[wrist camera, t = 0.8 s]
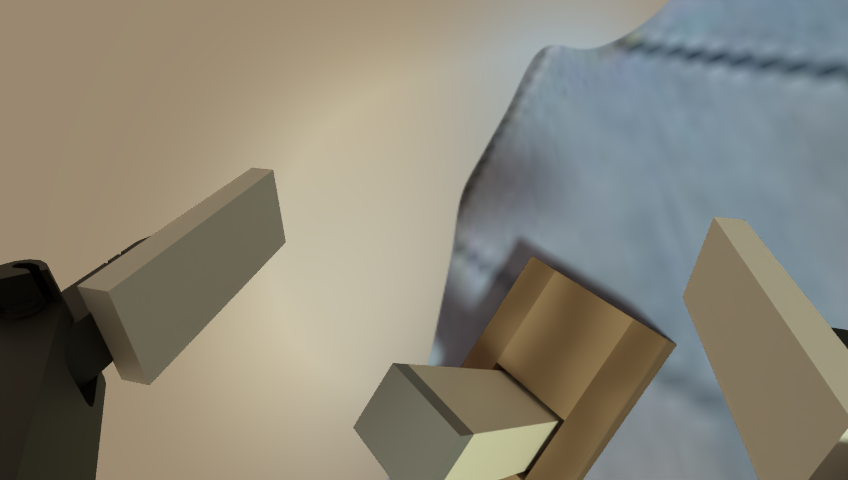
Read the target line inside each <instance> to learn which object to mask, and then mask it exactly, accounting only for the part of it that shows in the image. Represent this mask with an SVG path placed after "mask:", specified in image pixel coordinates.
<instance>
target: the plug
mask: <svg viewBox="0 0 848 480" xmlns="http://www.w3.org/2000/svg"><path fill="white" fill-rule="evenodd" d="M563 422H564V420H563V419H562V418H561V417H560V416H558V415H557V414H556V413H555V412H554V411H553V410H551V409H550V408H549V407H548V406H547V405H546V404H545V403H543V402H542V401H541V400H540V399H539V398H538V397H536V396H535V395H534V394H533V393H532V392H531V391H529V390H528V389H527V388H526V387H525V386H524V385H523V384H521V383H520V382H519V381H518V380H517V379H516V378H514V377H513V376H512V375H511V374H510V373H509V372H508V371H500V370H485V369H471V368H456V367H442V366H427V365H411V364H397V363H393V364H392V365H391V367H390V369H389V370H388V372H387V373H386V375H385V377H384V378H383V380H382V382H381V383H380V385H379V386H378V388H377V390H376V391H375V393H374V395H373V396H372V398H371V399H370V401H369V403H368V404H367V406H366V407H365V409H364V411H363V412H362V414H361V416H360V417H359V419H358V421H357V422H356V424H355V426H354V427H353V428H354V429H355V430H356V432H357V433H358V435H359V436H360V437H361V439H362V440H363V441H364V443H365V444H366V445H367V447H368V448H369V449H370V451H371V452H372V454H373V455H374V456H375V458H376V459H377V460H378V462H379V463H380V464H381V466H382V467H383V468H384V470H385V471H386V473H387V474H388V476H389V477H390V478H391V480H500V479H503V478H506V477H509V476H511V475H514V474H517V473H520V472H523V471H526V470H529V469H532V468H533V467H534V465H535V464H536V462H537V461H538V459H539V458H540V456H541V455H542V453H543V452H544V450H545V449H546V447H547V446H548V444H549V443H550V442H551V440H552V439H553V437H554V436H555V434H556V433H557V431H558V430H559V428H560V427H561V425H562V424H563Z"/></svg>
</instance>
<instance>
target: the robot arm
mask: <svg viewBox="0 0 848 480" xmlns="http://www.w3.org/2000/svg"><path fill="white" fill-rule="evenodd" d="M285 242H286V241H285V236H284V230H283V224H282V219H281V213H280V207H279V201H278V195H277V189H276V184H275V178H274V172H273V170H268V169H258V168H251V169H249V170H248V171H246V172H245V173H244V174H242V175H241V176H239V177H238V178H236V179H235V180H233V181H232V182H231V183H229V184H227V185H226V186H224V187H223V188H221V189H220V190H218V191H217V192H216V193H214V194H212V195H211V196H210V197H208V198H207V199H205V200H204V201H202V202H201V203H199V204H198V205H196V206H195V207H193V208H192V209H190V210H189V211H187V212H186V213H184V214H183V215H181V216H180V217H178V218H177V219H175V220H174V221H172V222H171V223H170V224H168V225H167V226H165V227H164V228H162V229H161V230H159V231H158V232H156V233H155V234H153V235H152V236H149V237H147V238H144V239H142V240H140V241H138V242H136V243H134V244H133V245H131V246H130V247H128V248H127V249H125V250H124V251H122V252H121V254H120V255H119V254H118V255H116V256H115V257H113V258H112V259H110V260H109V261H108V263H104V264H103V265H101V266H100V267H98V268H97V269H95V270H94V271H92V272H91V273H89V274H88V275H86V276H85V277H83V278H82V279H80V280H79V281H77V282H76V283H74V284H73V285H71V286H70V287H68V288H67V289H65V290H64V291H62V292H61V291H60V289H59V287H58V285H57V283H56V281H55V279H54V277H53V275H52V273H51V271H50V269H49V267H48V265H47V264H46V263H44V262H42V261H41V260H31V259H28V260H20V261H14V262H10V263H6V264H3V265H0V480H95V478H96V468H97V460H98V451H99V442H100V433H101V423H102V415H103V405H104V396H105V387H106V382H105V378H104V376H103V374H102V372H101V371H102V370H104V369H105V368H106V367H107V366H108V365H109V364H110V363H111V362H112V361H113V362H114V364H115V366H116V368H117V371H118V373H119V375H120V376H121V379H123V380H128V381H132V382H137V383H141V384H146V385H150V384H151V383H152V382H153V381H154V380H155V379H156V378H157V377H158V376H159V374H160V373H161V372H162V371H163V370H164V369H165V368H166V367H167V366H168V365H169V364H170V363H171V362H172V361H173V360H174V359H175V358H176V357H177V356H178V355H179V354H180V353H181V351H182V350H183V349H184V348H185V347H186V346H187V345H188V344H189V343H190V342H191V341H192V340H193V339H194V338H195V337H196V336H197V335H198V334H199V333H200V331H202V329H203V328H204V327H205V326H206V325H207V324H208V323H209V322H210V321H211V320H212V319H213V318H214V317H215V316H216V315H217V314H218V313H219V312H220V311H221V310H222V308H223V307H224V306H225V305H226V304H227V303H228V302H229V301H230V300H231V299H232V298H233V297H234V296H235V295H236V294H237V293H238V292H239V290H241V289H242V288H243V286H244V285H245V284H246V283H247V282H248V281H249V280H250V279H251V278H252V277H253V276H254V275H255V274H256V273H257V272H258V271H259V270H260V269H261V268H262V266H263V265H264V264H265V263H266V262H267V261H268V260H269V259H270V258H271V257H272V256H273V255H274V254H275V253H276V252H277V251H278V250H279V249H280V247H281V246H283V244H284V243H285ZM683 299H684V302H685V304H686V306H687V309H688V311H689V314H690V316H691V318H692V321H693V323H694V326H695V328H696V330H697V333H698V335H699V338H700V340H701V342H702V345H703V347H704V350H705V352H706V354H707V357H708V359H709V361H710V364H711V366H712V369H713V371H714V373H715V376H716V378H717V381H718V383H719V385H720V388H721V390H722V393H723V395H724V397H725V400H726V402H727V405H728V407H729V409H730V412H731V414H732V416H733V419H734V421H735V424H736V426H737V428H738V431H739V433H740V436H741V438H742V440H743V443H744V445H745V448H746V450H747V452H748V455H749V457H750V460H751V462H752V464H753V467H754V469H755V471H756V474H757V476H758V479H759V480H848V330H844V329H837V328H831V327H830V326H829V325H828V324H827V322H826V321H825V320H824V319H823V317H822V316H821V315H820V314H819V312H818V311H817V310H816V309H815V307H814V306H813V305H812V304H811V302H810V301H809V300H808V299H807V297H806V296H805V295H804V294H803V292H802V291H801V290H800V289H799V287H798V286H797V285H796V284H795V282H794V281H793V280H792V278H791V277H790V276H789V275H788V273H787V272H786V271H785V270H784V268H783V267H782V266H781V265H780V263H779V262H778V261H777V260H776V258H775V257H774V256H773V255H772V253H771V252H770V251H769V250H768V248H767V247H766V246H765V245H764V243H763V242H762V241H761V240H760V238H759V237H758V236H757V235H756V233H755V232H754V231H753V229H752V228H751V227H750V226H749V224H748V223H747V222H746V221H745V220H739V219H730V218H720V217H714V218H713V220H712V223H711V225H710V228H709V230H708V233H707V236H706V238H705V241H704V243H703V246H702V248H701V251H700V254H699V256H698V259H697V261H696V264H695V266H694V269H693V272H692V274H691V277H690V279H689V282H688V284H687V287H686V290H685V292H684V295H683Z"/></svg>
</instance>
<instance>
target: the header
mask: <svg viewBox="0 0 848 480" xmlns="http://www.w3.org/2000/svg"><path fill="white" fill-rule="evenodd" d="M675 346H676V344H675V343H673V342H672V341H670V340H668V339H667V338H665V337H663V336H662V335H660V334H659V333H657V332H655V331H654V330H652V329H651V328H649V327H647V326H646V325H644V324H642V323H641V322H639V321H638V320H636V319H634V318H633V317H631V316H630V315H628V314H626V313H625V312H623V311H621V310H620V309H618V308H617V307H615V306H613V305H612V304H610V303H609V302H607V301H605V300H604V299H602V298H600V297H599V296H597V295H596V294H594V293H592V292H591V291H589V290H588V289H586V288H584V287H583V286H581V285H579V284H578V283H576V282H575V281H573V280H571V279H570V278H568V277H567V276H565V275H563V274H562V273H560V272H558V271H557V270H555V269H554V268H552V267H550V266H549V265H547V264H545V263H543V262H542V261H540V260H538V259H536V258H535V257H533V256H531V258H530V260H529V261H528V263H527V264H526V266H525V267H524V269H523V271H522V272H521V274H520V275H519V277H518V278H517V280H516V282H515V283H514V285H513V286H512V288H511V289H510V291H509V292H508V294H507V296H506V297H505V299H504V300H503V302H502V303H501V305H500V307H499V308H498V310H497V311H496V313H495V314H494V316H493V318H492V319H491V321H490V322H489V324H488V325H487V327H486V329H485V330H484V332H483V333H482V335H481V336H480V338H479V339H478V341H477V343H476V344H475V346H474V347H473V349H472V350H471V352H470V354H469V355H468V357H467V358H466V360H465V361H464V363H463V365H462V366H461V368H471V369H485V370H500V371H508V372H509V373H510V374H511V375H512V376H513V377H514V378H516V379H517V380H518V381H519V382H520V383H521V384H523V385H524V386H525V387H526V388H527V389H528V390H529V391H531V392H532V393H533V394H534V395H535V396H536V397H538V398H539V399H540V400H541V401H542V402H543V403H545V404H546V405H547V406H548V407H549V408H550V409H551V410H553V411H554V412H555V413H556V414H557V415H558V416H560V417H561V418H562V419H563V420H564V422H563V424H562V425H561V427H560V428H559V430H558V431H557V433H556V434H555V436H554V437H553V439H552V440H551V442H550V443H549V444H548V446H547V447H546V449H545V450H544V452H543V453H542V455H541V456H540V458H539V459H538V461H537V462H536V464H535V465H534V467H533V468H532V469H529V470H526V471H523V472H520V473H517V474H514V475H511V476H509V477H506V478H503V479H500V480H583V478H584V477H585V475H586V474H587V472H588V471H589V470H590V468H591V467H592V465H593V464H594V462H595V461H596V460H597V458H598V457H599V455H600V454H601V452H602V451H603V450H604V448H605V447H606V445H607V444H608V442H609V441H610V440H611V438H612V437H613V435H614V434H615V432H616V431H617V429H618V428H619V427H620V425H621V424H622V422H623V421H624V419H625V418H626V417H627V415H628V414H629V412H630V411H631V409H632V408H633V407H634V405H635V404H636V402H637V401H638V399H639V398H640V397H641V395H642V394H643V392H644V391H645V389H646V388H647V386H648V385H649V384H650V382H651V381H652V379H653V378H654V376H655V375H656V374H657V372H658V371H659V369H660V368H661V366H662V365H663V364H664V362H665V361H666V359H667V358H668V356H669V355H670V354H671V352H672V351H673V349H674V348H675ZM390 479H391V478H390Z"/></svg>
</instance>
